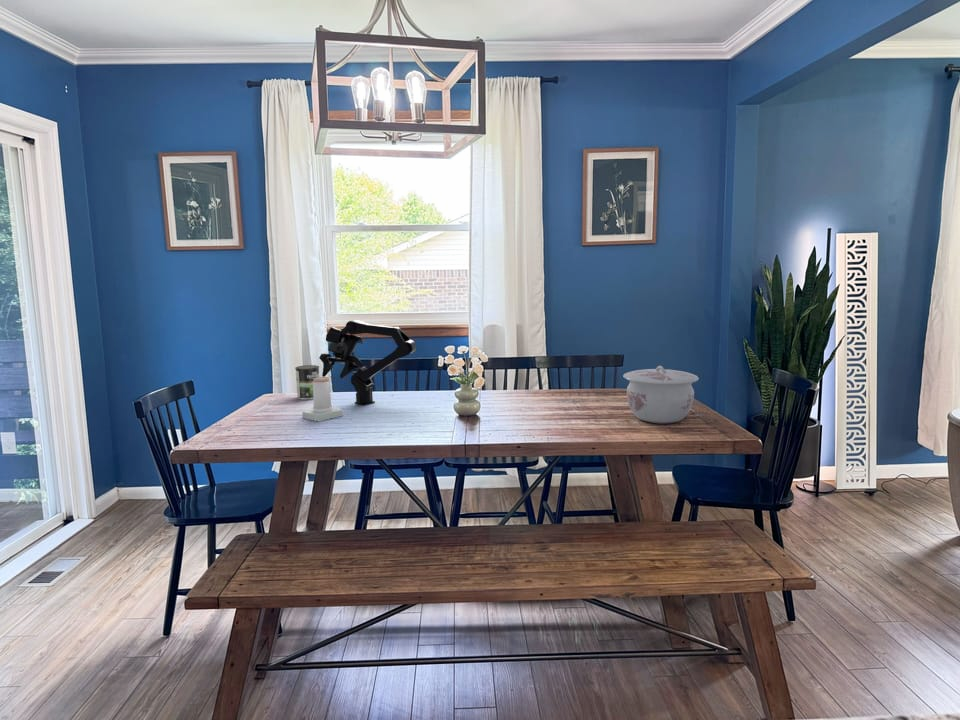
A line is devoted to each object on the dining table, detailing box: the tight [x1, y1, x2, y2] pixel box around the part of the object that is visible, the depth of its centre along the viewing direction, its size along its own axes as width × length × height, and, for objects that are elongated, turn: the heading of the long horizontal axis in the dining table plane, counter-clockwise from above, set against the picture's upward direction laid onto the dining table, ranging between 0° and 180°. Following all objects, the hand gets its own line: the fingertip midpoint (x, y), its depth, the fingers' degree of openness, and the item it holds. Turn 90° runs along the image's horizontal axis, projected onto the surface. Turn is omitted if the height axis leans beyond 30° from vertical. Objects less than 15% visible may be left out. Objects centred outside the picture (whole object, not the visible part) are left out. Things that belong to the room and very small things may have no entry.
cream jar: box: [312, 376, 333, 413], centre depth 251 cm, size 7×7×13 cm
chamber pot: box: [622, 365, 699, 425], centre depth 239 cm, size 28×28×21 cm
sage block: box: [301, 406, 344, 422], centre depth 252 cm, size 12×10×2 cm
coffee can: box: [294, 364, 320, 401], centre depth 288 cm, size 10×10×14 cm
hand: (331, 377), depth 263 cm, fingers open, 9 cm apart
